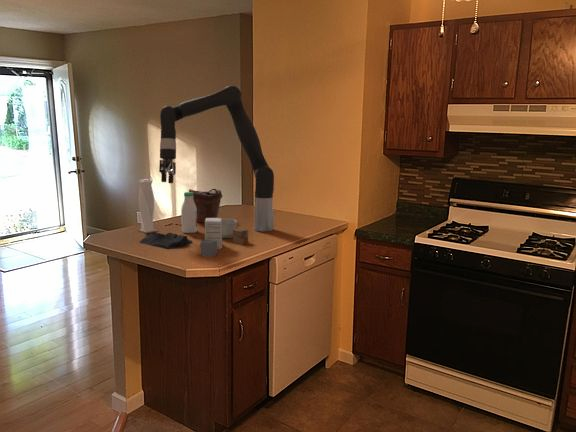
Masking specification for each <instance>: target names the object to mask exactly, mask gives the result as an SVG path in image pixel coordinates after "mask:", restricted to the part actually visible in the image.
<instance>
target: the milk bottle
mask: <svg viewBox="0 0 576 432" xmlns="http://www.w3.org/2000/svg"><path fill="white" fill-rule="evenodd" d="M193 195H194V194H193V192H189V191H184V193H183V196H184V197H183V198H184V201H183V203H182V205H181V213H180V215H181V216H180V217H181V221H180V222H181V232H182V233H185V234H193V233H197V231H198V222H197V208H196V205H195V203H194V200H193V197H194V196H193Z"/></svg>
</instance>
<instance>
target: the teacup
mask: <svg viewBox="0 0 576 432" xmlns="http://www.w3.org/2000/svg"><path fill="white" fill-rule="evenodd" d="M237 222H238V220H236V219H234V218H222V239H230V238H233V230H235V229H238V228H237V225H238V224H237Z"/></svg>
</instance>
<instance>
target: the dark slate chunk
mask: <svg viewBox="0 0 576 432" xmlns="http://www.w3.org/2000/svg"><path fill="white" fill-rule="evenodd" d="M139 243H140V244H144V245H148V246H151V247H155V248H156V247H157V248H162V249H166V250H174V249H177V248H178V249H179V248H183V247H187V246H188V245H190V244H192V243H193V240H192V239H189V238H188V236H187V235H183V234H179V235H178V234H177V233H173V232H167V233H166V234H164V233H160V232H159V233H158V232H151V233H150V234H148V235H147V236H146V237H143V238H141V240H140V241H139Z"/></svg>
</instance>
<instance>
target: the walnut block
mask: <svg viewBox="0 0 576 432" xmlns="http://www.w3.org/2000/svg"><path fill="white" fill-rule="evenodd" d="M232 243H235V244H237V245H242V244H247V243H249V229H246V228H242V227H240V228H237V229H235V230H233V237H232Z"/></svg>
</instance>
